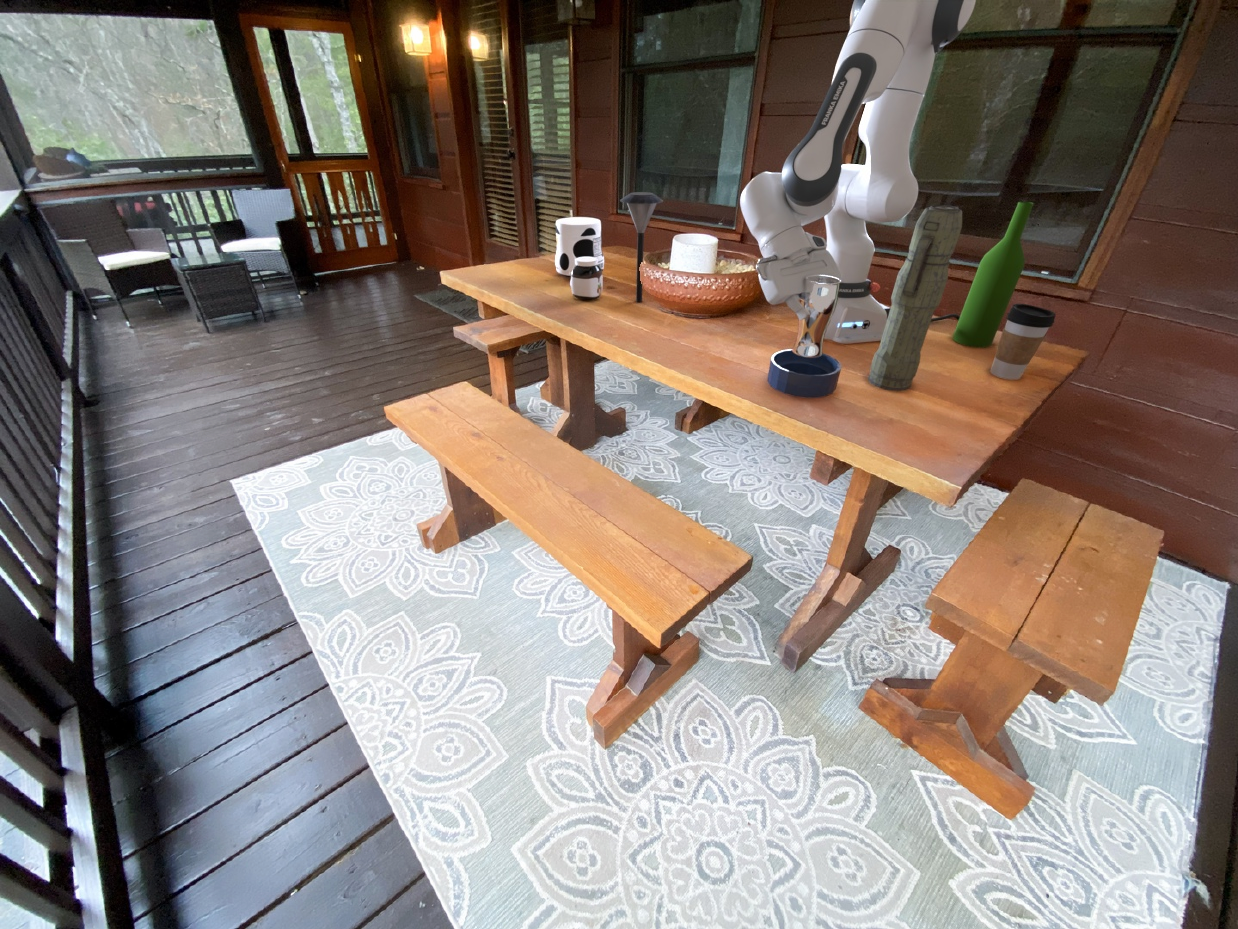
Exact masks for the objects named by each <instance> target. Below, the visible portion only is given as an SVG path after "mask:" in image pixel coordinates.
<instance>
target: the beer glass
mask: <svg viewBox="0 0 1238 929" xmlns="http://www.w3.org/2000/svg"><path fill="white" fill-rule="evenodd" d="M809 278H813V279H816V280H817V281H819V282H820V283H817V282H813V281H810V280H808V279H809ZM840 283H841V280H840V279H838V278H835V277H832V276H826V275H810V276H807V277H806V279H805V284H804V288H805V290H804V292H803V293H801V298H800V300H799V302H800V303H801V304H802V305H803V306H804V307H807V308H808V310H809V312H810V316H809V317H807V318H805V319H802V320H800V319H799V318H798V317H797V318H798V319H797V320H798V322H797V334H796V339H795V341H794V344H793V346H792V352H793V353H794V354H795V355H797V356H800V357H804V358H818V357H820V356H822V353H824V340H825V339H824V336H825V333H826V331H827V328H828V326H829V324H830V322H831V319H832V317H833V314H834V312H835V308H836V305H837V301H838V296H839V289H840Z"/></svg>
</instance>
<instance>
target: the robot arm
mask: <svg viewBox="0 0 1238 929" xmlns="http://www.w3.org/2000/svg"><path fill="white" fill-rule="evenodd" d="M976 2H977V0H853V3H852V6H851V11H850V16H849V31H848V33H847V36H846V38H845V41H844V43H843V45H842V47H841V50H840V53H839V56H838V58H837V61H836V64H835V68H834V72H833V75H832V81H831V84H830V87H829V89H828V91H827V93H826V95H825V98H824V100H823V101H822V104H821V106H820V108H819V110H818V111H817V115H816V116H815V119H814V120H813V123H812V125H811V127H810V128H809V130H808V132H807V133H806V135H805V136H804V137H803V138H802V139H801V141H799V143H798V144H796V146H795V147H794V148H793V149H792V150H791V152H790V153H789V155H788V156H787V158H786V159H785V161H784V163H783V166H782V169H781V172H770V171H763V172H760V173H758V174H757V175H756V176H754V177H753V178H752V179H751V180H749V182H748V183H747V184H746V185H745V187H744V188H743V190H742V192H741V194H740V197H739V206H740V210H741V213H742V216H743V218H744V222H745V223H746V225H747V229H749V232H750V234H751V236H752V237H754V239H756V241H757V243H758V246H759V251H760V254H761V255H762V257H760V258H759V259H758V260H757V262H756V266H755V269H756V272H757V273H758V281H759V285H760V288H761V289H762V292H763V294H764V297H765V299H766V301H767V302H768V303H769V304H770V305H771V306H775V305H779V304H783V303H785V304H786V306H787V307H788V308H789V309H790V310H791V311H793V313H795V314H796V316H797V318H799V319H800V320H802V319H805V318H807V317H809V316H810V312H809V310H808V308H807V307H804V306H803V305H802V304H801V303H800V298H801V293H803V292H804V290H805V288H804V284H805V279H806V277H807V276H810V275H826V276H832V277H835V278H838V279H840V280H841V283H840V289H839V296H838V301H837V305H836V308H835V312H834V314H833V317H832V319H831V322H830V324H829V326H828V328H827V331H826V333H825V336H824V340H828V341H832V342H835V343H838V344H841V345H847V344H858V343H859V344H860V343H870V342H871V343H872V342H881V340H882V336H883V333H884V329H885V326H886V322H887V319H888V316H889V312H890V309H891V307H889V306H887V305H884V304H883V303H880V302H878V300H877V299H875V298H874V297H873V295H872V294H871V292H873V293H877V292H878V291H880V289H881V285H880V284H879V283H877V282H875V281H871V280H870V279H869V278H868V277H869V273H870V269H871V266H872V261H873V258H874V254H875V245H874V242H873V240H872V239H871V237H869V235H868V231H867V227H866V221H867V222H872V223H877V224H881V223H896V222H899V221H901V220H903V219H904V218H905V217H906V216H908V215H909V214H910V212H911V211H912V210H913V208H914V207H915V204H916V203H917V200H918V195H919V184H918V181H917V178H916V177H915V175H914V174H913V171H912V168H911V163H910V144H911V138H912V135H913V131H914V127H915V124H916V121H917V118H918V115H919V112H920V109H921V106H922V103H923V101H924V98H925V96H926V95H925V94H926V92H927V88H928V86H929V82H930V79H931V76H932V71H933V67H934V62H935V57H936V54H938V53H940V52H941V51H942V50H943V49H944V47H945V46H947V45H949V44H950V43H951V42H953V41H954V40H955V39H956V38H957V37H958V36H959V35H960V34H961V33H962V32H963V30H964V29H965V27H966V25H967V23H968V22H969V21H970V18H971V16H972V14H973V11H974V9H975V6H976ZM863 104H864V105H865V106H864V110H863V113H862V116H861V119H860V122H859V126H858V137H859V139H860V140H861V141H862V143H863V144H864V146H865V150H866V151H865V152H866V153H865V154H866V156H865V164H863V165H862V164H854V163H846V164H843V146H844V143H845V141H846V139H847V136H848V135H849V132H850V130H851V129H852V126H853V124H854V122H855V119H856V117H857V115H858V113H859V111H860V109H861V107H862V105H863ZM821 219H824V223H825V224H824V225H825V229H826V230H825V232H826V239H825V238H824V237H821V236H817V235H814V234H811V233H809V232H807V231H805V230H804V228H803V227H805V226H807V225H811V224H812V223H814V222H817V221H818V220H819V221H820V220H821ZM808 280H810V281H813V282H817V283H820V282H819V281H817V280H816V279H813V278H809V279H808ZM960 316H961V315H959V314H957V313H950V314H946V315H943V316H938V317H937V316H936V317H932V319H931V322H930V323H933V322H939V321H944V320H947V319H950V318H955V319H956V320H957V321H959V318H960Z"/></svg>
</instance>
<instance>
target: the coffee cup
mask: <svg viewBox="0 0 1238 929" xmlns="http://www.w3.org/2000/svg"><path fill="white" fill-rule="evenodd" d="M1005 318H1006V322H1005V326H1004V327H1003V329H1002V333H1001V335H1000V339H999V342H998V346H997V349H996V352H995V355H994V358H993V362H992V365H991V367H990V372H989V373H990V374H991V375H993V376H995V377H997V378H999V379H1003V380H1008V381H1009V380H1010V381H1015V380H1019V379H1021V377H1022V376H1023V374H1024V373H1025V371H1026V369H1027V367H1028V365H1029V364H1030V362H1031V361H1032V359H1033V358H1034V356H1035V354H1036V352H1037V350H1038V349H1039V347H1040V346H1041V344H1042V343H1043V341H1044V339H1045V337H1046V333H1047V332H1048V330H1049V328H1052V326H1053V325H1054V323H1055V319H1056V312H1054V311H1052V310H1049V309H1047V308H1045V307H1039V306H1035V305H1031V304H1026V303H1015V304H1012V306H1011V308H1010V309H1009V311H1008V312H1007V315H1006V317H1005Z"/></svg>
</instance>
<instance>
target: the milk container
mask: <svg viewBox="0 0 1238 929" xmlns="http://www.w3.org/2000/svg"><path fill="white" fill-rule="evenodd" d="M555 240H556V251H555V257H554V265H555V268H556V272H557V273H558V274H559V275H560V276H562V277H564V278H570V279H571V274H572V271H573V269H574V267H575V266H576V264H575V259H576V258H578V257H595V258H597V259H598V264H597V265H598V266H599V267H600V268H601V270H602V272H604V268H605V256H604V253H603V247H602V222H601V220H600V219H599V218H595V217H589V216H571V217H563V218H559V219H556V221H555Z"/></svg>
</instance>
